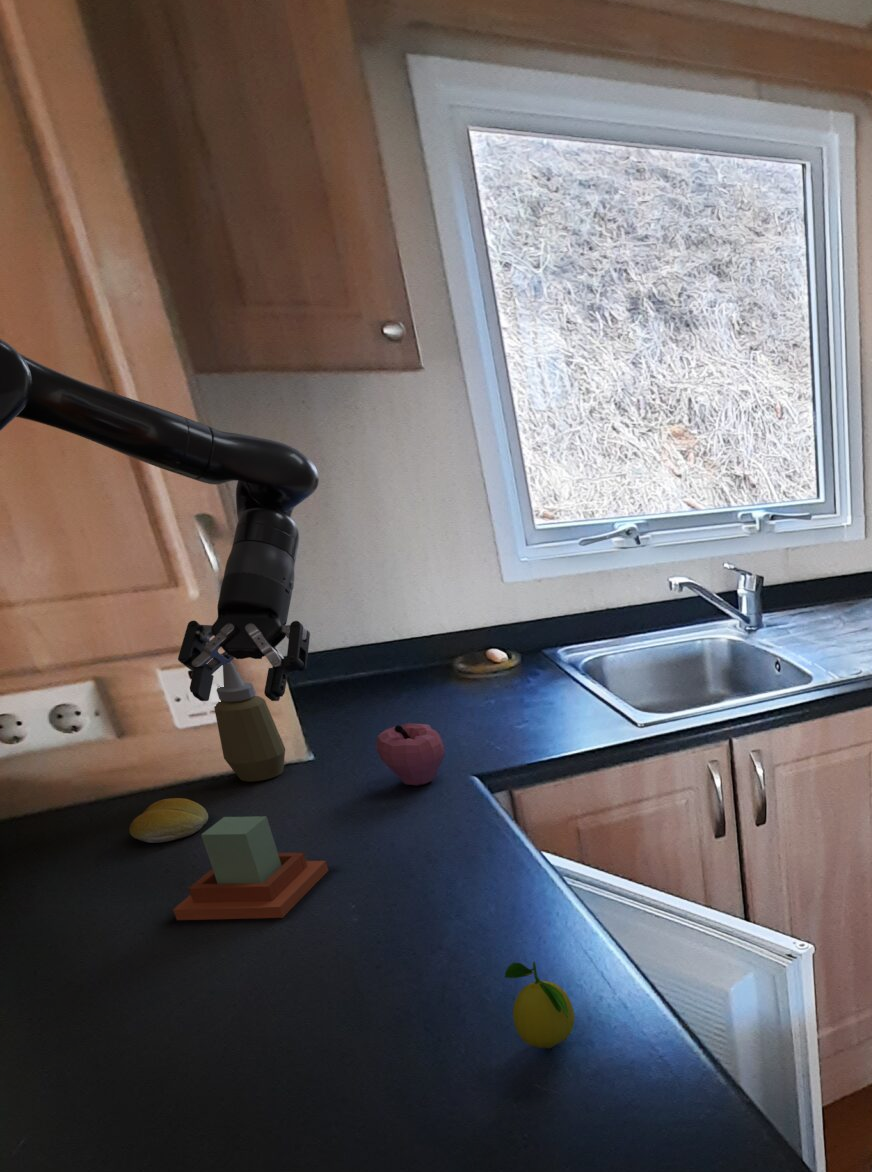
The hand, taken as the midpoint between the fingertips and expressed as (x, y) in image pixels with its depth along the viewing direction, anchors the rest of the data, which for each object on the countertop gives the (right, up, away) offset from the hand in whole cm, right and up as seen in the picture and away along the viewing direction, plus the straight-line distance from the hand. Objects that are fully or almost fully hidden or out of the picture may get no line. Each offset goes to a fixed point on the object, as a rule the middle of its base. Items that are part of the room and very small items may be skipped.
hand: (236, 698), depth 131 cm
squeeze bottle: (-18, -8, +32) cm, 37 cm away
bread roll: (-18, -16, +14) cm, 28 cm away
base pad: (+4, -25, -2) cm, 25 cm away
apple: (+7, -9, +30) cm, 32 cm away
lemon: (+50, -39, -27) cm, 69 cm away
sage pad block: (+4, -23, -2) cm, 24 cm away
